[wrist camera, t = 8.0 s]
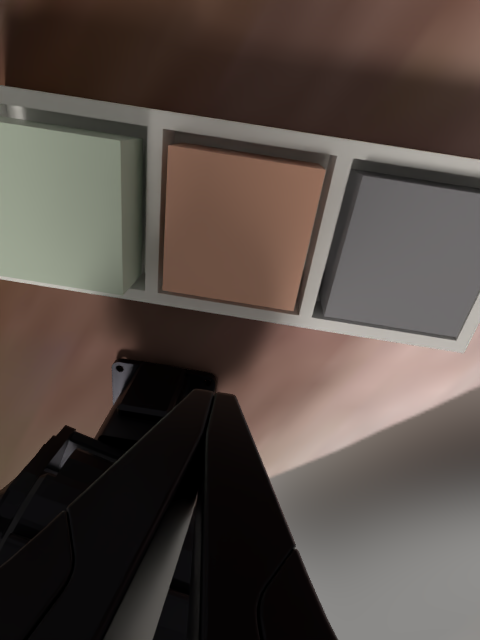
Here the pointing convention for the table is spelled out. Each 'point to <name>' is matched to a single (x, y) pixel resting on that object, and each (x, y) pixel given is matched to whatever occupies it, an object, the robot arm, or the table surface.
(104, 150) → the sage key
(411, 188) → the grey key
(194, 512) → the robot arm
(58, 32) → the table surface
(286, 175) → the terracotta key
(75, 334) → the table surface
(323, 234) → the light grey divided tray
